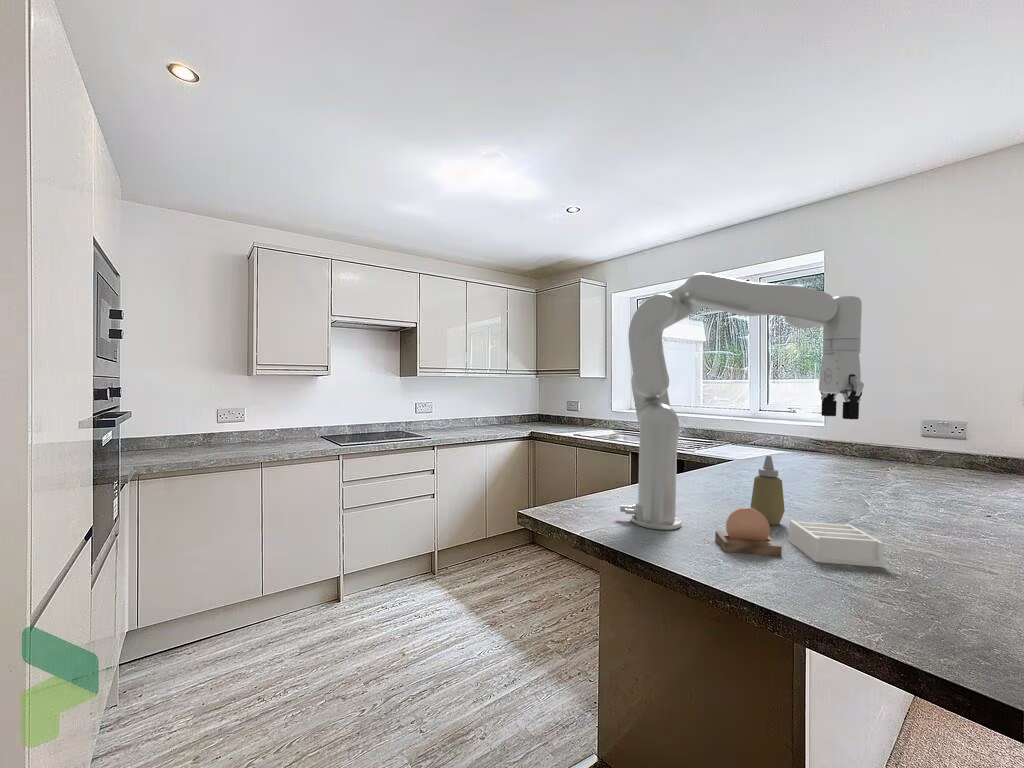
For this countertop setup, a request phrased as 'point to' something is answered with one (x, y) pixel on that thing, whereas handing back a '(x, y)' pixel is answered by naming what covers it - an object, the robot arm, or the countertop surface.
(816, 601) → the countertop surface
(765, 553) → the stand
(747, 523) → the peach round disc
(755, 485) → the squeeze bottle
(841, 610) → the countertop surface
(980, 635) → the countertop surface
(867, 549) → the rack
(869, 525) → the countertop surface
